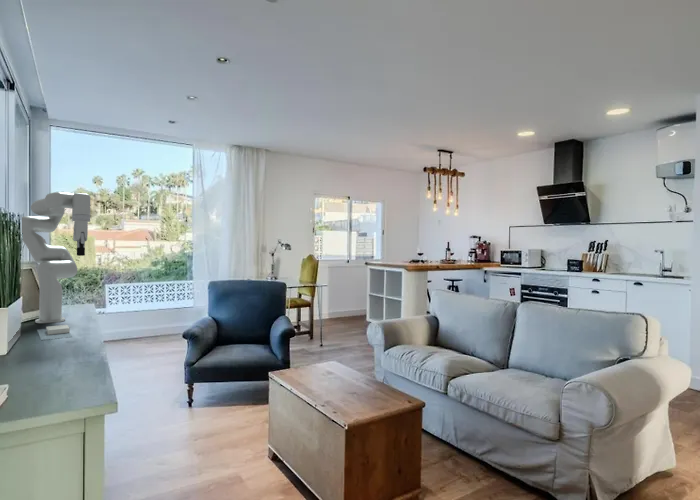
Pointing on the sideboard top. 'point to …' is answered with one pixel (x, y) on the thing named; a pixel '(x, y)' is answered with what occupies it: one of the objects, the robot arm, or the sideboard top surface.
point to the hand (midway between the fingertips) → (80, 255)
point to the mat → (52, 335)
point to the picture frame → (57, 329)
